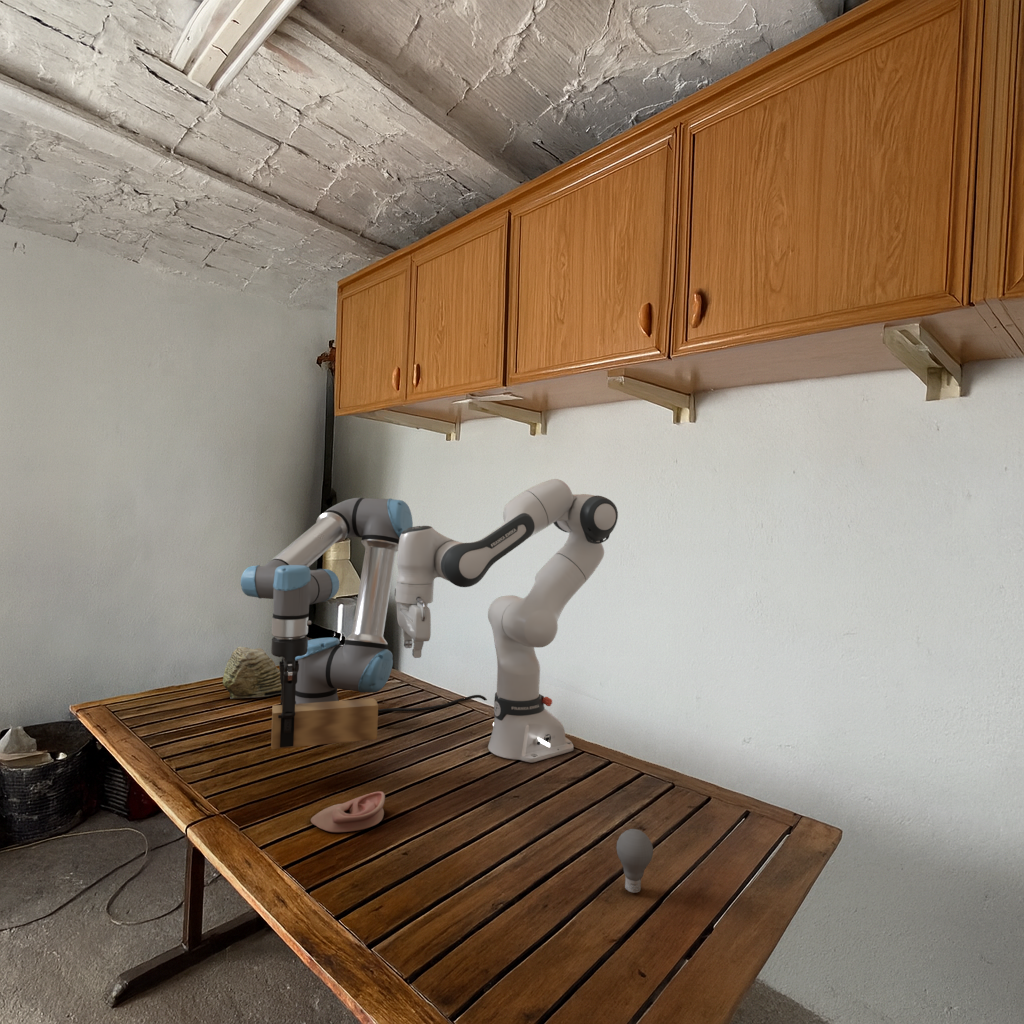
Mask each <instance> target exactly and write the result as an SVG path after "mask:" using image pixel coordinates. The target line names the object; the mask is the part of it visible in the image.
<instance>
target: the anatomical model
mask: <svg viewBox="0 0 1024 1024" xmlns="http://www.w3.org/2000/svg"><path fill="white" fill-rule="evenodd" d="M385 802H386V794H385V792H384V791H380V790H379V791H374V792H370V793H366V794H363V795H361V796H358V797H355V798H353V799H351V800H348V801H345V802H343V803H337V804H334V805H333V804H332V805H330V806H328V807H325V808H324V809H322V810H321V811H318V812H317V813H316V814H315V815H313V816H312V817H311V818H310V823H311V824H313V825H314V826H316V827H317V828H319V829H321V830H323V831H326V832H329V833H347V832H355V831H361V830H365V829H369V828H371V827H374V826H376V825H378V824H379V823H380V822H382V820H383V819H384V815H385V810H384V805H385Z"/></svg>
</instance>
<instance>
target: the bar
mask: <svg viewBox="0 0 1024 1024" xmlns="http://www.w3.org/2000/svg"><path fill="white" fill-rule="evenodd" d="M271 706H272V708H271V710H272V711H271V733H270V734H271V736H270V738H271V740H270V747H271V748H270V749H271V750H280V749H290V748H298V747H299V748H300V747H310V746H317V745H318V746H322V745H331V744H341V743H342V744H343V743H351V742H361V741H371V740H372V741H373V740H374V741H375V740H378V725H379V723H378V722H379V713H378V710H379V704H378V702H377V699H376V697H375V698H374V697H373V698H359V699H345V700H339V701H330V702H316V703H302V704H295V717H294V742H293V746H290V747H280V732H281V718H278V715H281V714H282V705H280V704H275V705H271Z"/></svg>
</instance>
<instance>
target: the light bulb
mask: <svg viewBox="0 0 1024 1024" xmlns="http://www.w3.org/2000/svg"><path fill="white" fill-rule="evenodd" d="M615 849H616V854H617V857H618V859H619V861H620V863H621V865H622V867H623V873H624V874H623V875H624V876H625V878H624V888H625V890H627V891H628V892H630V893H634V894H635V893H639V892H640V891H641V889H642V887H641V886H642V879H643V877H644V875H645V871H646V868H647V867H648V866H649V864H650V863H651V861H652V859H653V855H654V847H653V843H652V841H651V838H649V836H648V835H647V834H646V833H645V832H643V831H642V830H641V829H636V828H629V829H627V830H625V831H623V832H622V833H621V834H620V835H619V837H618V839H617V841H616V847H615Z"/></svg>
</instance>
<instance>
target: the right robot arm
mask: <svg viewBox="0 0 1024 1024" xmlns="http://www.w3.org/2000/svg"><path fill="white" fill-rule="evenodd" d="M502 518H503V522H502V524H501V525H499V526H498V527H496V528H494V529H493V530H492V531H491V532H489V533H488V534H486V535H485V536H483V537H482V538H480V539H478V540H476V541H472V542H461V541H458V540H454V539H452V538H450V537H447V536H445V535H444V534H441V533H440V532H438V531H437V530H435V528H433V526H430V525H416V526H413V527H411V528H407V529H405V530H404V531H403V532H402V533H401V536H400V539H399V545H398V551H397V553H396V554H397V557H396V565H397V571H398V572H397V576H396V580H395V588H394V597H395V602H396V619H397V625H398V626H399V627H400V628H401V630H402V635H403V647H404V648H405V649H412V652H411V653H412V657H413V658H415V659H421V658H422V651H423V647H424V644H425V642H429V641H430V640H431V633H432V629H431V628H432V627H431V626H432V623H431V622H432V621H431V620H432V618H431V615H432V614H431V609H430V607H429V606H428V605H429V604H432V603H433V602H434V589H435V588H434V585H435V579H437V578H440V579H443V580H446V581H448V582H450V583H451V584H453V585H454V586H456V587H460V588H470V587H473V586H474V585H477V584H478V583H479V582H481V581H482V579H483V578H484V577H485V575H486V574H487V573H488V571H489V570H490V568H491V567H492V566H494V564H495V563H496V562H498V561H499V560H500V559H502V558H503V557H505V556H507V554H509V553H510V552H512V551H513V550H514V549H516V548H517V547H519V546H520V545H521V544H522V543H523V544H524V542H526V541H527V540H528V539H529V538H531V537H533V536H535V535H536V534H538V533H540V532H542V531H543V530H545V529H546V528H548V527H549V526H551V525H552V524H553V525H554V526H555V527H556V528H557V529H558V530H560V531H562V532H563V533H568V537H567V540H566V541H565V542H564V545H563V546H562V547H560V548H559V549H558V551H556V553H555V554H553V555H552V556H551V558H550V559H549V560H548V561H547V562H546V563H545V564H544V565H543V566H542V567H541V568H540V569H539V570H538V571H537V572H536V574H535V576H534V584H533V586H532V587H531V589H530V591H529V592H528V594H527V595H526V596H525V597H520V596H518V595H513V594H509V595H508V594H507V595H501V596H498V597H497V598H495V599H494V600H493V601H492V602H491V603H490V604H489V607H488V610H487V619H488V622H489V624H490V626H491V630H492V634H493V641H494V647H495V654H496V655H495V656H496V665H497V667H496V669H497V670H496V692H495V693H494V703H493V716H494V719H493V723H492V730H491V735H490V738H489V741H488V744H487V749H488V751H489V752H490V753H491V754H492V755H494V756H497V757H500V758H503V759H508V760H516V761H517V760H518V761H523V762H526V763H530V764H531V763H536V762H540V761H543V760H546V759H551V758H553V757H557V756H560V755H563V754H567V753H571V752H573V751H574V750H575V749H574V744H573V742H572V740H570V739H569V738H568V737H566V731H565V728H564V725H563V723H562V721H561V720H560V719H559V718H557V717H556V716H555V715H554V714H552V713H551V712H550V711H548V709H546V708H545V706H547V707H551V706H552V704H553V699H552V698H550V697H549V696H544V695H543V694H540V683H541V664H540V661H539V659H538V657H537V654H536V650H535V648H544V647H547V646H549V645H550V644H551V643H552V642H553V641H554V639H555V638H556V637H557V633H558V629H559V627H558V626H559V625H558V623H559V618H560V617H561V615H562V613H563V610H564V609H565V607H566V606H567V604H568V603H569V601H570V600H572V598H573V596H574V595H575V594H577V592H578V591H579V590H580V589H581V588H582V587H583V586H584V585H585V584H586V582H587V581H588V580H589V579H590V578H591V576H592V575H594V573H595V571H596V570H597V568H598V567H599V565H600V564H601V563H602V560H603V559H604V556H605V548H604V545H603V543H604V542H606V541H607V540H609V538H610V535H611V534H612V532H613V531H614V529H616V526H617V522H618V519H619V512H618V508H617V506H616V504H615V502H613V501H612V500H611V499H609V498H607V497H605V496H602V495H594V494H587V493H580V494H579V493H577V494H573V492H572V490H571V488H570V486H569V485H568V484H567V483H566V482H565V481H563V480H561V479H559V478H552V479H549V480H545V481H543V482H540V483H538V484H536V485H533V486H531V487H529V488H527V489H526V490H524V491H522V492H520V493H519V494H517V495H515V496H514V497H513V498H511V499H510V500H509V501H508V502H507V503H506V504H505V505H504V507H503V511H502Z"/></svg>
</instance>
